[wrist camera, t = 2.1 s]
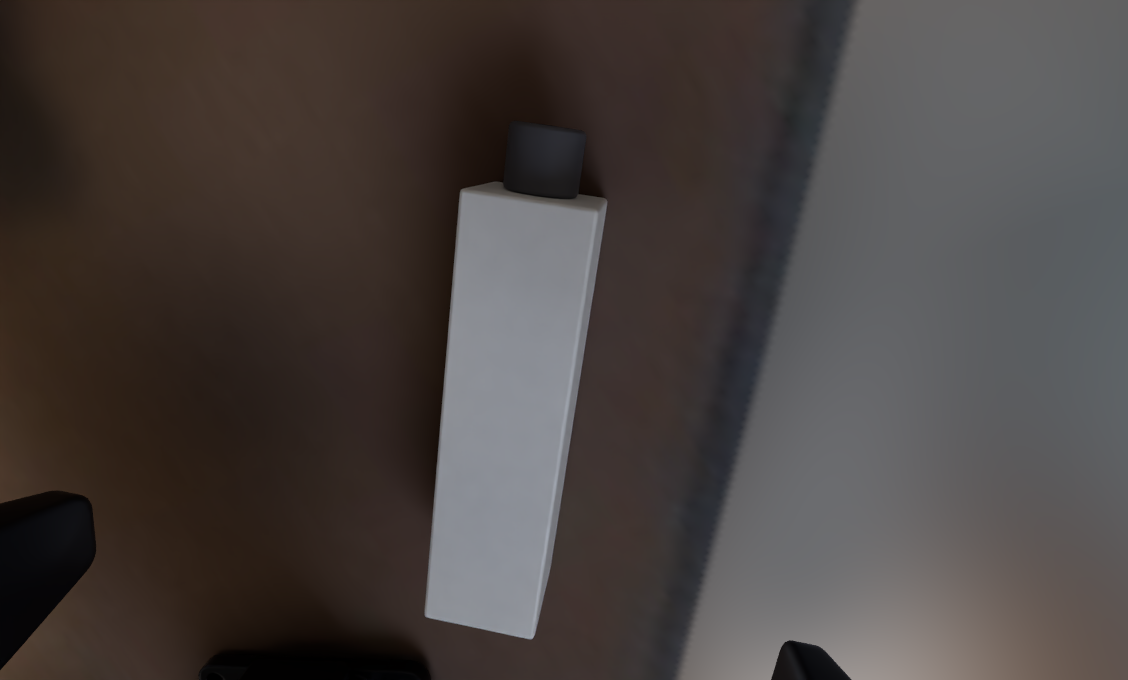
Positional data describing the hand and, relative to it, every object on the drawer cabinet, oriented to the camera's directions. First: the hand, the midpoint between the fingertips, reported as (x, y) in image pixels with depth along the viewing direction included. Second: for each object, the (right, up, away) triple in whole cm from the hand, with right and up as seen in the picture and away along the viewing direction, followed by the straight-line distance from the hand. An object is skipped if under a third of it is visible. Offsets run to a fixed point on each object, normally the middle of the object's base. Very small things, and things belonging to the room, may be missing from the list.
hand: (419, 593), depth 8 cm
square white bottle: (+1, +2, +6) cm, 7 cm away
